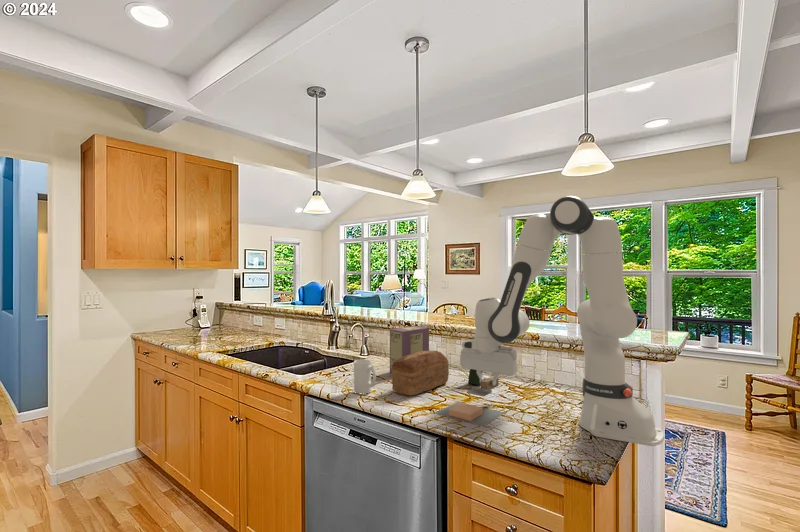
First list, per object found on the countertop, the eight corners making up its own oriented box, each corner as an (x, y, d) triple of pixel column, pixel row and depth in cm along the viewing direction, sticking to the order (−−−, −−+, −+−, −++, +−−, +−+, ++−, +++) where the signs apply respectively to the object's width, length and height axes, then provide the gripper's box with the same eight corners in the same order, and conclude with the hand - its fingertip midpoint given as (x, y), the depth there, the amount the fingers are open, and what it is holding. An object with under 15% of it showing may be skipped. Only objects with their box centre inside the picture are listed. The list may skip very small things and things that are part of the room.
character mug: (478, 388, 166) (478, 356, 166) (462, 385, 170) (462, 354, 170) (489, 382, 175) (489, 351, 175) (473, 379, 179) (473, 349, 179)
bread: (386, 393, 160) (386, 356, 160) (429, 378, 181) (430, 345, 181) (410, 399, 152) (410, 360, 152) (452, 383, 173) (453, 349, 173)
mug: (350, 392, 160) (350, 361, 160) (361, 388, 165) (361, 358, 166) (369, 397, 154) (369, 365, 154) (381, 393, 159) (381, 362, 159)
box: (403, 376, 184) (403, 331, 184) (389, 372, 191) (389, 329, 191) (428, 370, 195) (429, 327, 195) (415, 366, 202) (415, 325, 202)
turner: (487, 383, 150) (487, 375, 150) (503, 386, 147) (503, 378, 147) (467, 393, 138) (467, 384, 139) (483, 396, 135) (483, 387, 135)
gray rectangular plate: (505, 414, 137) (505, 412, 137) (483, 428, 125) (483, 426, 125) (458, 403, 148) (458, 401, 148) (434, 414, 136) (434, 413, 136)
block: (482, 408, 135) (470, 414, 129) (482, 414, 135) (470, 421, 129) (461, 402, 140) (448, 409, 134) (461, 409, 140) (448, 415, 134)
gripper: (520, 346, 140) (520, 387, 140) (466, 339, 153) (466, 377, 152) (512, 349, 135) (512, 391, 135) (457, 342, 148) (457, 381, 148)
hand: (487, 384), depth 144 cm, fingers closed on turner, 2 cm apart
